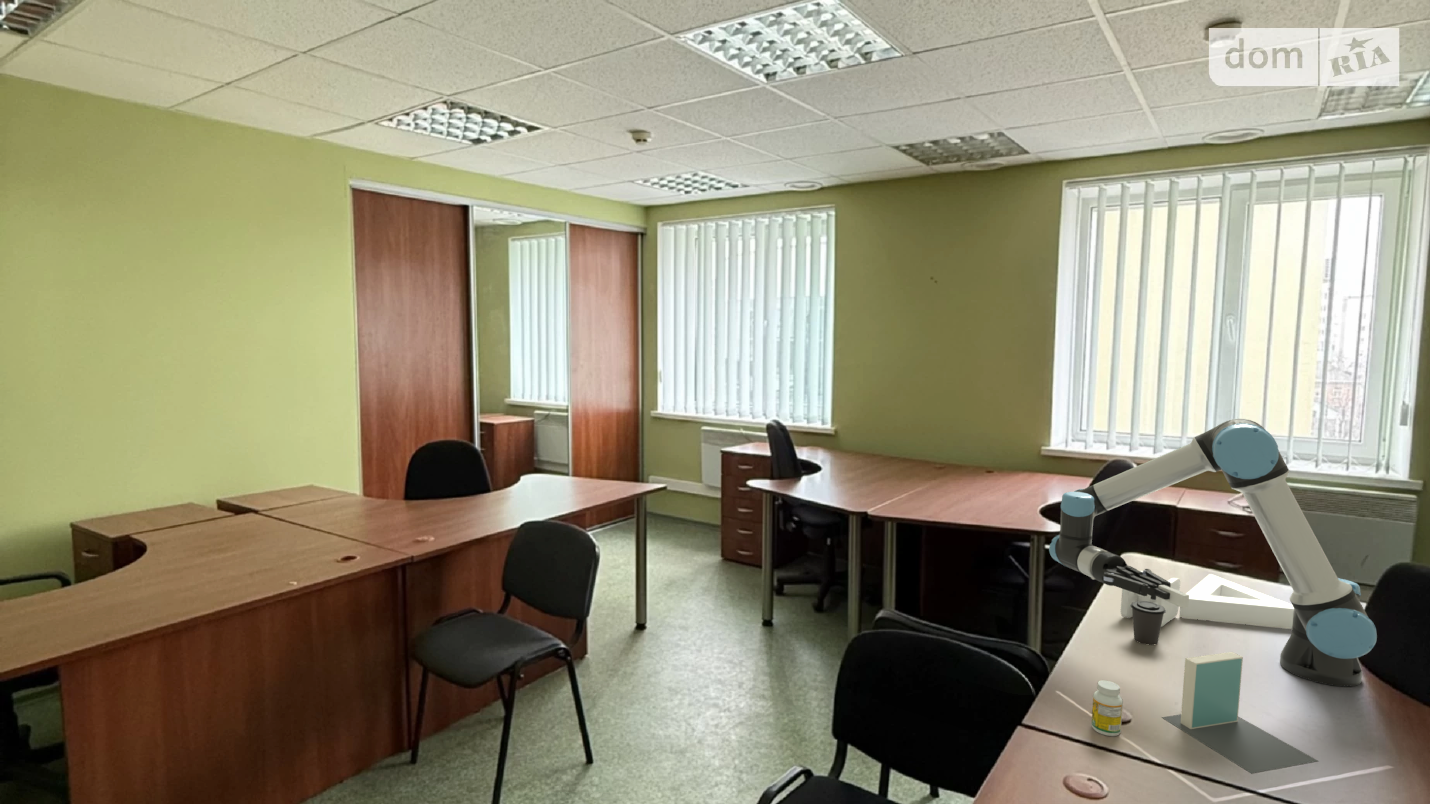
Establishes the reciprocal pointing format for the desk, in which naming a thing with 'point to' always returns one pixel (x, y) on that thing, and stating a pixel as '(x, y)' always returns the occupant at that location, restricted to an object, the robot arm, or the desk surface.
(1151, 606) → the coffee cup
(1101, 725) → the supplement bottle
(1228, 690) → the tile
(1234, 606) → the triangle block
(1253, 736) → the mat
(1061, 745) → the desk surface
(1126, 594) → the cable organizer
